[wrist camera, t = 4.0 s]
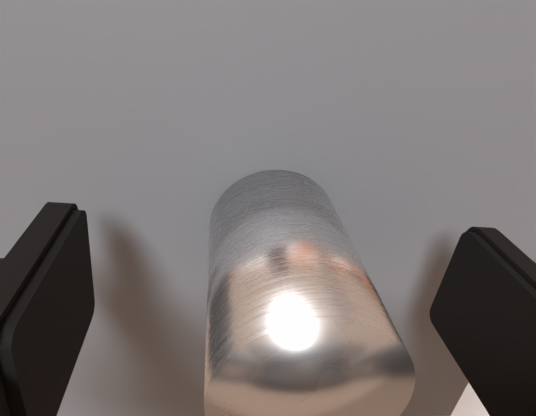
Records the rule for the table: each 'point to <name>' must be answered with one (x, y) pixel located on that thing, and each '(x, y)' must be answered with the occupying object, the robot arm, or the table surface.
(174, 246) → the cover
